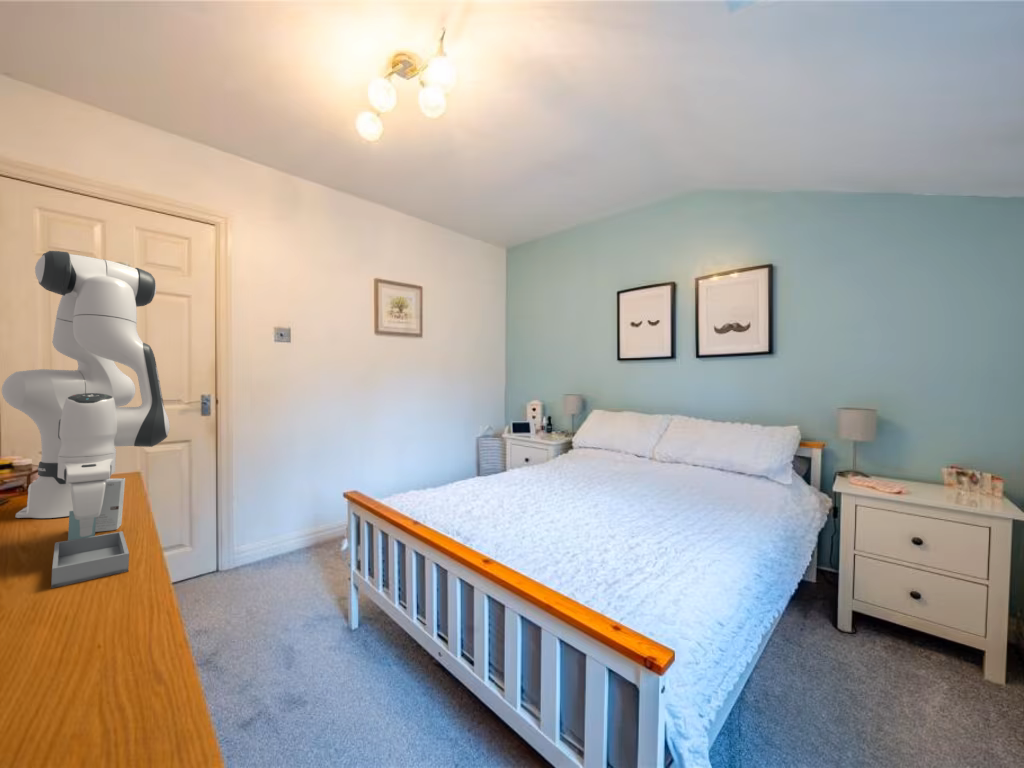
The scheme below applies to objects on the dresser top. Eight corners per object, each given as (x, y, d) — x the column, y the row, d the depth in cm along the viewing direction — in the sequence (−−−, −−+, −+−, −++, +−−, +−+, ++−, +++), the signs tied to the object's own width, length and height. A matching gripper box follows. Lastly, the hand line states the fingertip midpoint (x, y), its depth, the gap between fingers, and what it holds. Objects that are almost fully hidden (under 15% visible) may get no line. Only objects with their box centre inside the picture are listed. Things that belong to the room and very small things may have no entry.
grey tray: (54, 559, 83) (55, 542, 83) (121, 546, 90) (122, 531, 90) (51, 588, 72) (52, 568, 72) (128, 571, 79) (129, 553, 79)
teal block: (67, 547, 89) (69, 511, 89) (93, 542, 92) (95, 507, 92) (67, 553, 86) (69, 515, 86) (94, 548, 89) (96, 511, 89)
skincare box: (83, 534, 96) (85, 483, 97) (89, 528, 100) (91, 479, 100) (118, 529, 100) (121, 480, 100) (123, 524, 104) (125, 477, 104)
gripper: (66, 461, 94) (63, 521, 94) (66, 476, 80) (63, 546, 80) (104, 459, 99) (102, 515, 98) (111, 472, 85) (108, 538, 85)
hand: (84, 529), depth 89 cm, fingers open, 8 cm apart
